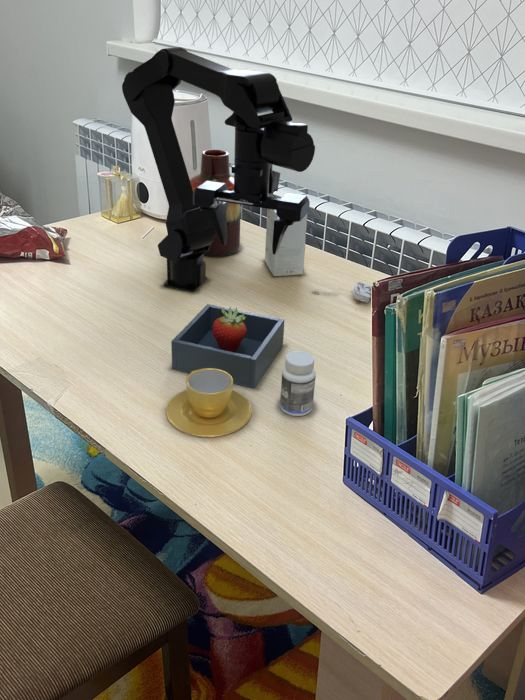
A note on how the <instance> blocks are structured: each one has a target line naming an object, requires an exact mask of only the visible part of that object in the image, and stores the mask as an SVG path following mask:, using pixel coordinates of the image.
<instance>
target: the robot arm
mask: <svg viewBox="0 0 525 700" xmlns="http://www.w3.org/2000/svg"><path fill="white" fill-rule="evenodd" d="M277 81H278V80H277V78H276V77H275V75H273V74H272V73H270V72H265V71H258V70H241V69H234V68H230V67H228V66H226V65H223V64H221V63H218V62H215V61H212V60H210V59H207V58H205V57H203V56H200V55H198V54H194V53H192V52H191V51H188V50H187V49H185V48H184V47H180V46H176V47H167V48H161V49H159V50H158V51H157V52H156V53H154V55H153V56H152V57H151V58H149V59H147V60H146V61H144V62H143V63H141V64H140V65H138V66H136V67H135V68H134V69H133V70H132V71H129V72H127V73H126V74H125V76H124V79H123V82H122V84H121V90H122V94H123V98H124V100H125V102H126V105H127V106H128V109H129V111H130V113H131V114H132V115H133V117H134V118H135V119H136V120H137V121H138V122H139V123H141V124H142V125H143V127H144V129H145V133H146V137H147V140H148V142H149V146H150V149H151V152H152V155H153V159H154V161H155V162H154V163H155V165H156V168H157V172H158V175H159V178H160V181H161V184H162V188H163V191H164V194H165V197H166V198H165V199H166V201H167V205H168V210H167V214H166V219H165V227H166V233H167V235H165V237H164V238H163V239H162V240H161V241H160V242H159V243H158V244H157V248H158V252H159V256H160V257H162V258H163V259H166V278H167V279H166V281H164V282H163V287H166V288H169V289H174V290H180V291H184V292H185V291H186V292H190V293H194V292H197V290H198V289H199V288H200V287H201V286H202V285H204V283H206V281H208V276H207V266H206V265H207V263H206V260H204V256H203V252H206V251H209V250H210V247H211V244H212V242H213V240H214V237H215V236H216V233H217V235H218V237H219V239H220V241H221V244H222V245H223V246H225V245H226V243H227V217H226V211H227V206H228V203H234V204H241V206H249V207H254V208H259V209H260V208H261V209H272V210H276V214H277V216H278V217H277V218H276V219H275V220H274V230H273V243H272V251H273V254H274V255H275V254H276V253H277V251H278V248H279V246H280V244H281V241H282V239H283V236H284V234H285V232H286V230H287V228H288V226H290V225H293V224H294V222H298V221H301V220H302V219H303V218H304V216H305V215H306V214H307V213H308V214H309V213H310V206H311V205H310V204H311V203H310V202H311V201H310V199H309V197H308V195H306V194H300V193H291V192H286V193H285V194H284V195H283V196H282V197H281V198H279V197H273V196H269V195H273V194H274V193H275V192H279V185H280V179H281V172H279V171H277V170H276V171H275V170H273V166H275V167H276V166H277V167H280V168H283V169H287V170H290V171H294V172H297V173H302V172H304V171H306V170H307V169H308V168H309V167H310V165H311V164H312V162H313V159H314V158H315V152H316V145H315V142H314V139H313V137H312V135H311V134H310V133H308V131H309V126H308V124H306V123H301V122H300V123H295V122H293V117H292V114H291V112H290V109H289V108H288V106H287V102H286V101H285V98H284V97H283V94H282V92H281V90H280V86H279V84H278V82H277ZM182 82H184V83H187V84H189V85H192V86H194V87H196V88H198V89H201V90H203V91H206V92H207V93H209V94H210V93H211V94H213V95H215V96H216V97H218V98H219V99H220V101H221V102H222V104H223V106H224V107H225V108H227V109H228V110H230V111H231V112H232V114H231V115H230V116H228V117H227V118H226V119H225V120H224V124H225V125H226V126H230V127H233V128H234V157H233V158H234V159H233V160H234V161H233V162H234V163H233V165H232V166H231V174H233V176H234V190H233V191H228V190H227V185H226V184H225V183H219V182H213V181H206V182H205V183H203V184H202V185H200V186H199V187H197V188H196V189H195V190H194V192H193V189H192V186H191V182H190V179H191V178H190V176H189V175H190V174H189V173H188V169H187V166H186V163H185V160H184V156H183V152H182V149H181V145H180V142H179V139H178V135H177V132H176V129H175V126H174V122H173V113H174V108H175V103H176V99H175V98H176V97H175V93H174V90H176V89H177V87H178V86H179V85H180V84H181V83H182ZM268 112H270V113H268ZM259 114H260V115H259ZM215 231H216V232H215Z"/></svg>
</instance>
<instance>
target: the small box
mask: <svg viewBox="0 0 525 700" xmlns="http://www.w3.org/2000/svg"><path fill="white" fill-rule="evenodd" d="M308 214H309V212H308V213H307V214H306V215H305V216H304V218H303V219H302V220H301V221H298V222H294V224H293V225H290V226H288V228H287V230H286V232H285V234H284V236H283V239H282V241H281V244H280V246H279V248H278V251H277V253H276V254H275V255H274V254H273V251H272V243H273V230H274V220H275V219H276V218H277V217H278V216H277V214H276V210H272V209H267V211H266V226H265V227H266V228H265V229H266V230H265V247H264V262H265V264H266V265H267V268H268V270H269V271H270V273H271V275H272V276H273V277H283V276H299V275H300V276H301V275H303V274H304V269H305V268H304V267H305V253H306V252H305V251H306V241H307V227H308V216H309V215H308Z"/></svg>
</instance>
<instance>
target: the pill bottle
mask: <svg viewBox="0 0 525 700" xmlns="http://www.w3.org/2000/svg"><path fill="white" fill-rule="evenodd" d="M316 375H317V372H316V369H315V356H313V354H311V353H309V352H307V351H304V350H293V351H290V352H288V353H287V354H286V356H285V360H284V366H283V367H282V371H281V383H280V395H279V397H280V399H279V407H280V409H281V411H282V412H283V413H285V414H286V415H288V416H292V417H293V416H294V417H303V416H307V415H308V414H310V412H312V410H313V406H314V395H315V387H316V386H315V385H316V377H317V376H316Z"/></svg>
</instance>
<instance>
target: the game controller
mask: <svg viewBox="0 0 525 700" xmlns="http://www.w3.org/2000/svg"><path fill="white" fill-rule="evenodd" d="M371 288H372V285H371V284H370V283H366V282H360V281H359V282H356V283H355V285H354V287H353V290H352V296H353V297H354V299H356V300H358V301H361V302H363V303H367V304H368V303H369V302H370V300H372V299H371V290H372V289H371ZM338 290H339V291H341V290H344V291H346V292H348V291H347V290H346V289H345V288H344V289H343V288H340V289H339V288H338ZM317 291H318V289H317V290H315V292H317ZM323 291H324V292H326V290H324V289H323ZM327 293H328V294H329V293H330V294H331V293H332V294H333V293H334V291H332V292H331V291H330V292H328V291H327Z"/></svg>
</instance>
